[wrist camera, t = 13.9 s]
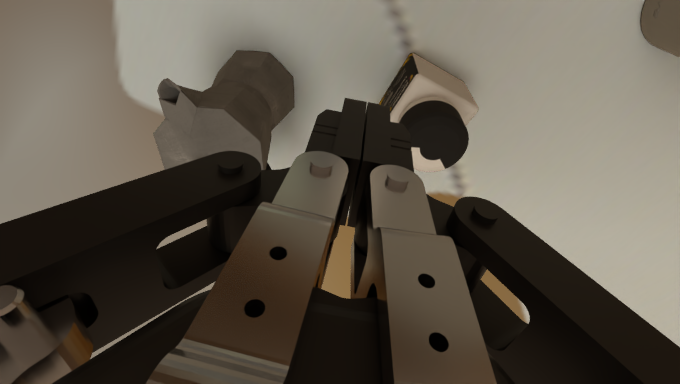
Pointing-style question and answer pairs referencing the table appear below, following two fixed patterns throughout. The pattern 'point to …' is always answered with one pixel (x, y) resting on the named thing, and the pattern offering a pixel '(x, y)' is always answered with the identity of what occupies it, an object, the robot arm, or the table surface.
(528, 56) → the table surface
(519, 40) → the table surface
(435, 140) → the medicine bottle
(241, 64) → the coffeepot
